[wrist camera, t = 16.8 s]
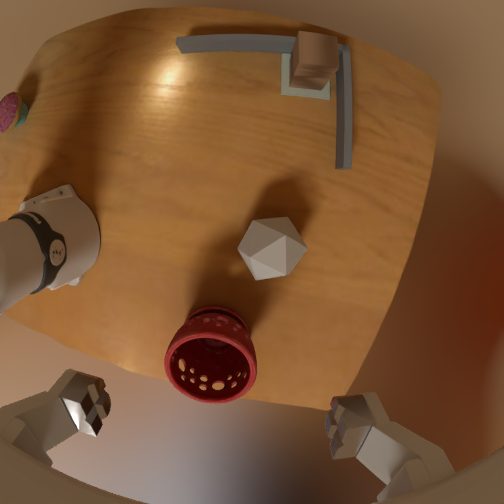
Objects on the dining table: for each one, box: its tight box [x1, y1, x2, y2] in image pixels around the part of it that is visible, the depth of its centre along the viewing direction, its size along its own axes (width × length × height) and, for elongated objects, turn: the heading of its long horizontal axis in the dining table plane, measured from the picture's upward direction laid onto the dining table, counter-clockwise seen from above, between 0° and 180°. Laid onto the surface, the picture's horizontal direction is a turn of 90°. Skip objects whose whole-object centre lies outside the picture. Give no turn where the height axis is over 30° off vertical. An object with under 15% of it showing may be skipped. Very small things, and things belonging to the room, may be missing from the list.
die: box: [237, 217, 308, 280], centre depth 39 cm, size 8×9×10 cm
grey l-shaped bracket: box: [176, 34, 352, 170], centre depth 35 cm, size 26×20×4 cm
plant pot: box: [164, 306, 257, 403], centre depth 41 cm, size 13×13×12 cm
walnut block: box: [289, 31, 339, 91], centre depth 31 cm, size 5×5×10 cm
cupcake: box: [0, 92, 28, 133], centre depth 30 cm, size 9×8×12 cm
